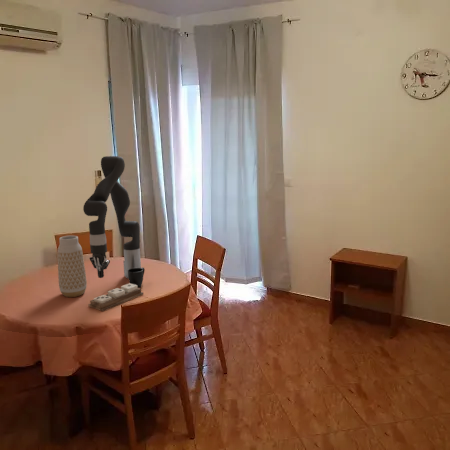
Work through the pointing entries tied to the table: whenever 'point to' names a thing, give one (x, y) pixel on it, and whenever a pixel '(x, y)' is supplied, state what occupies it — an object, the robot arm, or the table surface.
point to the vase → (71, 267)
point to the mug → (136, 276)
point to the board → (115, 300)
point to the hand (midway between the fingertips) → (101, 277)
